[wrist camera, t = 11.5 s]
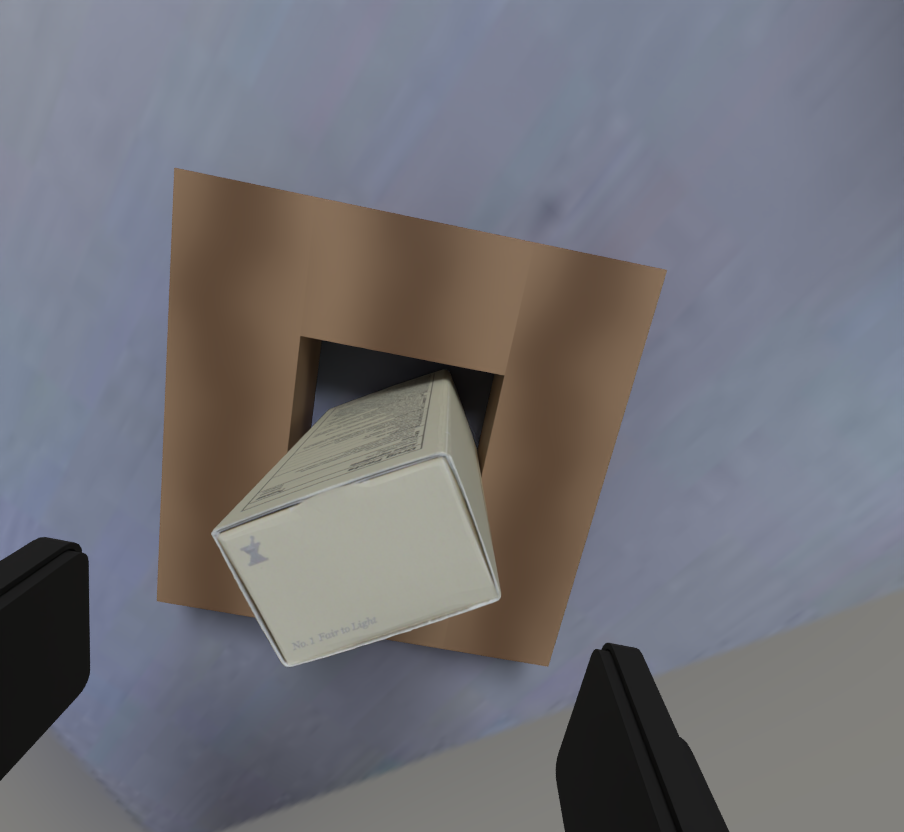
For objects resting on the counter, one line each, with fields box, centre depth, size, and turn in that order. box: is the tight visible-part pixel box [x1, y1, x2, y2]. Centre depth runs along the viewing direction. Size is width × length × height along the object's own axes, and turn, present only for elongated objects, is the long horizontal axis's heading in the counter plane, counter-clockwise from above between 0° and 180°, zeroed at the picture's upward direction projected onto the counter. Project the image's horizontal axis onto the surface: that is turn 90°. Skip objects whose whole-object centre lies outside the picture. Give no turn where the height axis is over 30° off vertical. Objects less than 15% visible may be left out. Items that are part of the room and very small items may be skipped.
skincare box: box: [211, 369, 501, 667], centre depth 18 cm, size 6×4×12 cm
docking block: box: [157, 168, 667, 666], centre depth 22 cm, size 18×18×4 cm
